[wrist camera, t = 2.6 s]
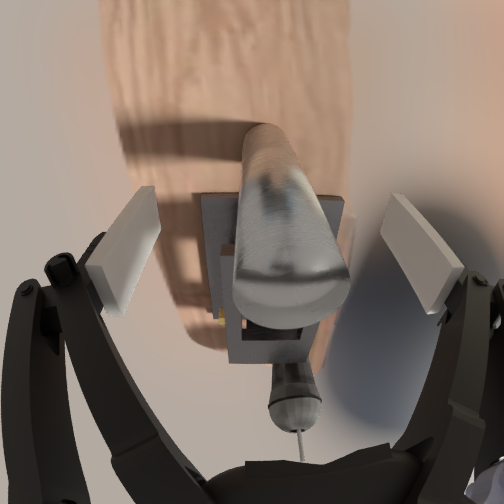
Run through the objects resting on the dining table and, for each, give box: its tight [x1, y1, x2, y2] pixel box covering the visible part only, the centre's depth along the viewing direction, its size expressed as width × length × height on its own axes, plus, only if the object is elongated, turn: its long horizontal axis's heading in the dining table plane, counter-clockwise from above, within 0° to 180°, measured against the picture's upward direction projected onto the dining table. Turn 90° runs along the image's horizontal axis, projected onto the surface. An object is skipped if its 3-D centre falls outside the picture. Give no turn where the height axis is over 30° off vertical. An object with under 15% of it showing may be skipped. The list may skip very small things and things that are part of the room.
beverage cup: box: [268, 357, 322, 461], centre depth 33 cm, size 7×7×20 cm
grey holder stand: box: [201, 193, 345, 364], centre depth 28 cm, size 18×14×8 cm
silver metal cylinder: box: [232, 123, 350, 329], centre depth 16 cm, size 4×4×18 cm
